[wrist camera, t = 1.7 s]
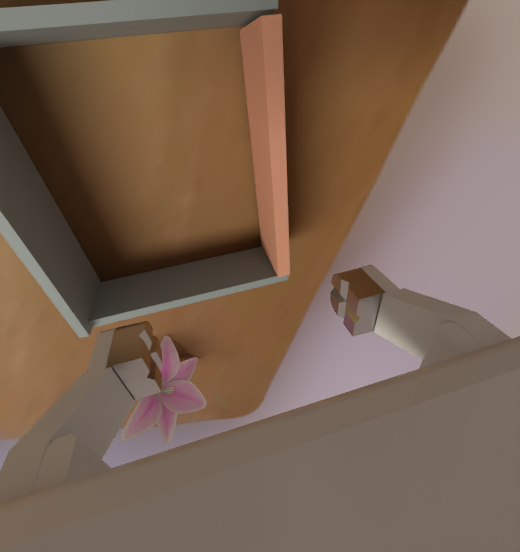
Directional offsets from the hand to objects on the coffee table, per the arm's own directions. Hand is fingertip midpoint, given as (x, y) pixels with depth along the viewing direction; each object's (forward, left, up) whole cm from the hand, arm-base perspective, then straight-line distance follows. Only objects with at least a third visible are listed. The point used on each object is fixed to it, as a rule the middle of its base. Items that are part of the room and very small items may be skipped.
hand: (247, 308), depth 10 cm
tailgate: (0, +6, -19) cm, 19 cm away
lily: (+25, -10, -20) cm, 33 cm away
